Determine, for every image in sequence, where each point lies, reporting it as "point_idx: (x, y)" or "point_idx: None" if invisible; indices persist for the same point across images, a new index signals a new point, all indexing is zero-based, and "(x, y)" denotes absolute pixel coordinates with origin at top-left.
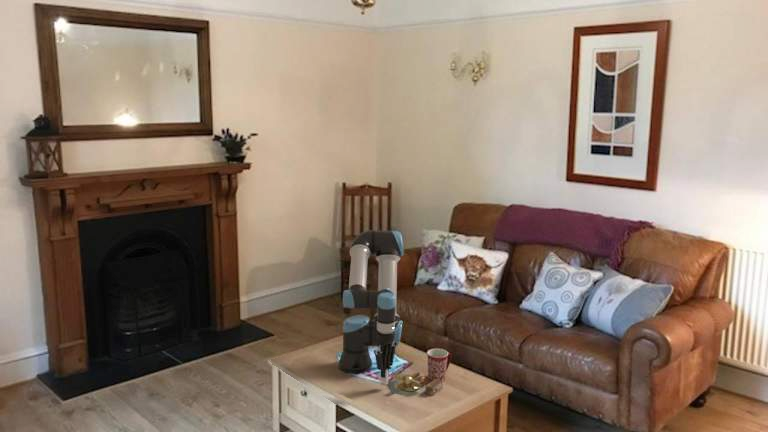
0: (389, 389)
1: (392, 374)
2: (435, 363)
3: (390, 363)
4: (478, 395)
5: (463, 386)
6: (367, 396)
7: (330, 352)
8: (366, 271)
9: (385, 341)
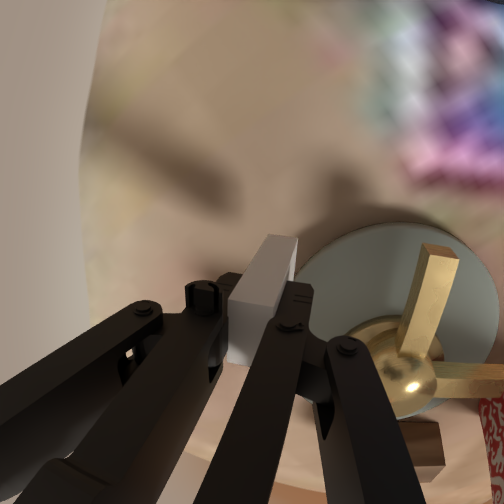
0: (298, 278)
1: (424, 268)
2: (494, 500)
3: (316, 408)
4: (431, 495)
5: (483, 459)
6: (179, 177)
7: None
8: None
9: None
